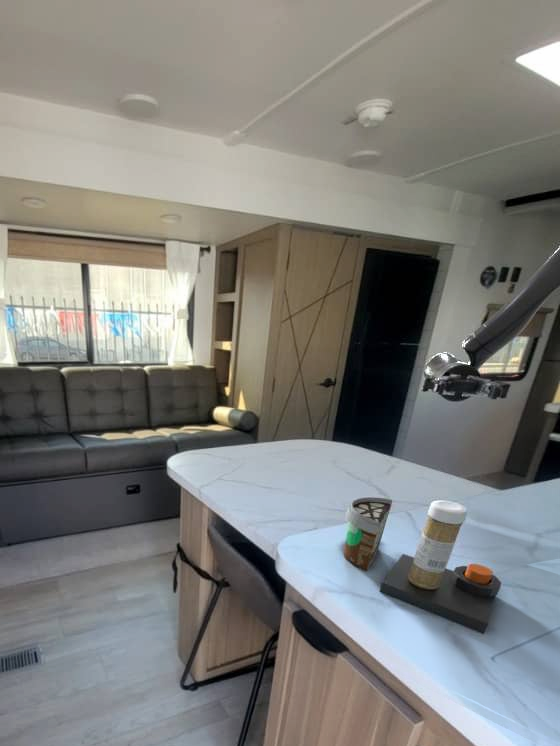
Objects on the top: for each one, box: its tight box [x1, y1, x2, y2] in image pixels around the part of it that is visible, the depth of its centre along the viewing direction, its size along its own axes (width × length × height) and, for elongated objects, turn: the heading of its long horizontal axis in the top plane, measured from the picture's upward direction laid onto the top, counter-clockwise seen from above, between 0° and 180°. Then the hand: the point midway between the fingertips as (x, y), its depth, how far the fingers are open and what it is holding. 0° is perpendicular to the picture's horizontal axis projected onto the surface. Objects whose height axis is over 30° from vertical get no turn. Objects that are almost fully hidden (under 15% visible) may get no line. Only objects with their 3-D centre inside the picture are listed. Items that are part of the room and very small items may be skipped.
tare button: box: [465, 563, 494, 584], centre depth 63 cm, size 3×3×2 cm
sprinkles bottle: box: [408, 499, 468, 590], centre depth 61 cm, size 5×5×13 cm
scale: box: [378, 553, 502, 635], centre depth 64 cm, size 14×12×4 cm
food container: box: [343, 496, 393, 572], centre depth 73 cm, size 12×6×10 cm, turn 145°
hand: (468, 391), depth 75 cm, fingers open, 8 cm apart
